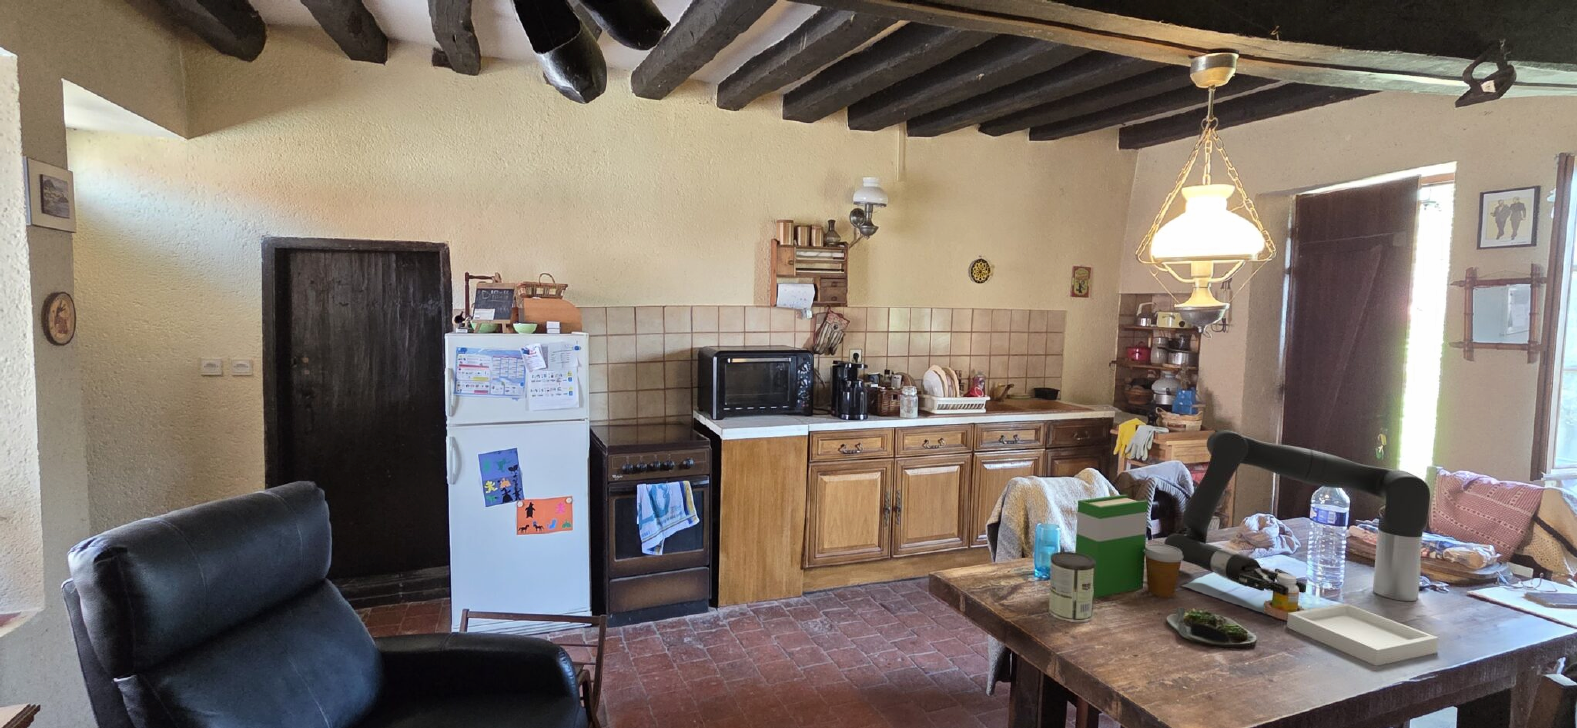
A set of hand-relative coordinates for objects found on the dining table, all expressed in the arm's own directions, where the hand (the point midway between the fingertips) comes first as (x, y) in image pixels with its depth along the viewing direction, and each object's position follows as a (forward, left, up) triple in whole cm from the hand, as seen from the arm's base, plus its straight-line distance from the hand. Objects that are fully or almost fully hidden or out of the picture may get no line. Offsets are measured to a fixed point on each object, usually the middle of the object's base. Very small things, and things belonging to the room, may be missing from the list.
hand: (1296, 589), depth 185 cm
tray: (-3, +13, -7) cm, 15 cm away
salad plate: (+28, 0, -8) cm, 29 cm away
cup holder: (0, -3, -7) cm, 7 cm away
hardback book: (+30, -30, -7) cm, 43 cm away
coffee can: (+52, -19, -7) cm, 56 cm away
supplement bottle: (0, -3, -7) cm, 8 cm away
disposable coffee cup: (+19, -23, -7) cm, 30 cm away
